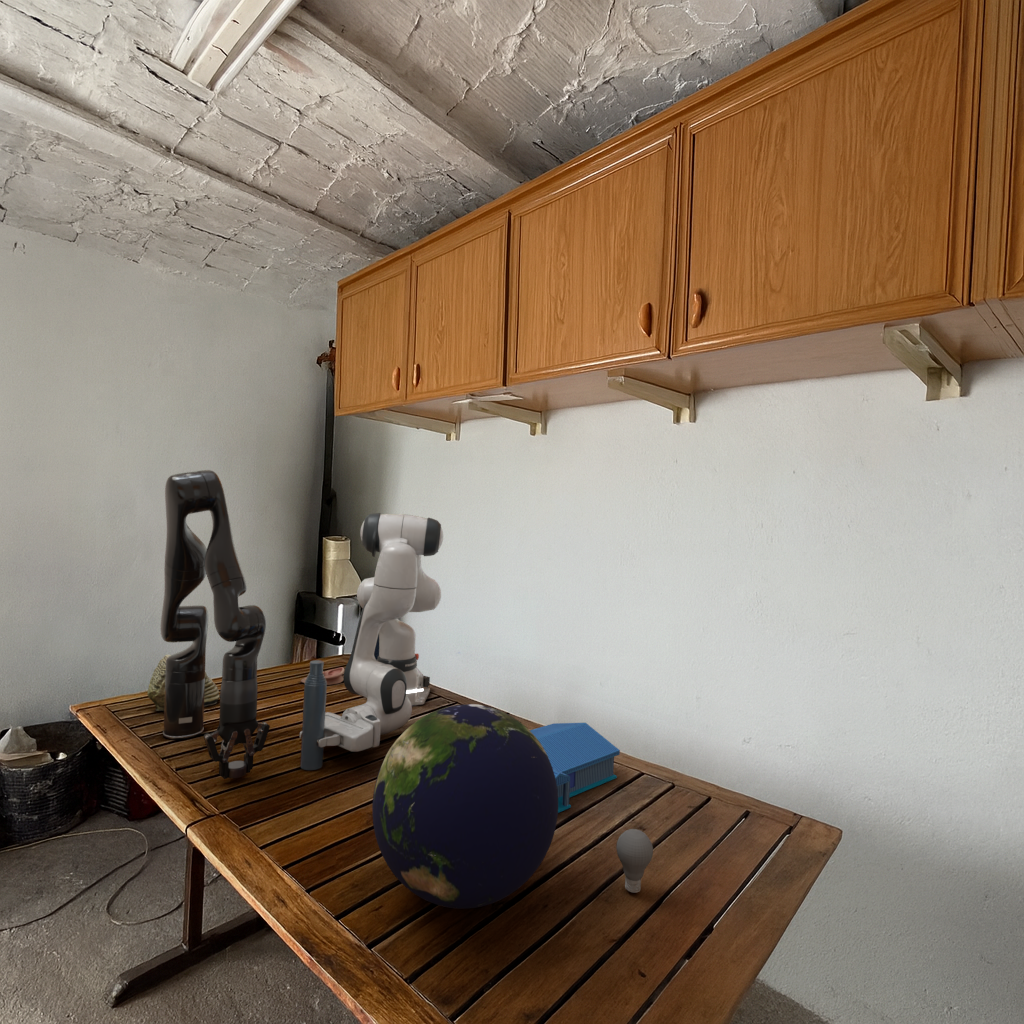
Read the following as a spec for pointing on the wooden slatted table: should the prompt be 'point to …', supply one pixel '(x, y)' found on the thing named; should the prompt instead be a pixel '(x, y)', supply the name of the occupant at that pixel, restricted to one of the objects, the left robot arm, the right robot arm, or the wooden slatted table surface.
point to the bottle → (313, 717)
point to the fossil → (158, 687)
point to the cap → (237, 769)
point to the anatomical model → (332, 676)
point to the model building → (576, 758)
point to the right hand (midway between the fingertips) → (309, 739)
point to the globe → (465, 806)
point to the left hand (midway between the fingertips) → (236, 774)
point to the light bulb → (634, 857)
